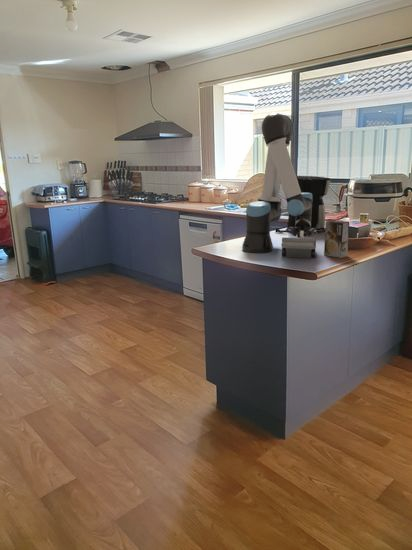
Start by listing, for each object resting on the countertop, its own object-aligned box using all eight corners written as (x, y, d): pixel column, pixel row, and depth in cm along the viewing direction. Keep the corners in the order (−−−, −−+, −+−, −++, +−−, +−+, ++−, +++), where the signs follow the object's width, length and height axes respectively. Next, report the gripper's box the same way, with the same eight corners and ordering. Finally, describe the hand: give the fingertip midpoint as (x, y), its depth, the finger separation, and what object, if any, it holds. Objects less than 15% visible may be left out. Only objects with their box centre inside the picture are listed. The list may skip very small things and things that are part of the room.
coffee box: (347, 256, 200) (350, 221, 196) (341, 258, 196) (343, 223, 192) (330, 253, 206) (332, 219, 202) (323, 255, 202) (325, 221, 198)
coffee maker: (333, 230, 270) (337, 175, 262) (304, 237, 249) (307, 177, 240) (302, 226, 286) (305, 174, 277) (272, 232, 265) (274, 176, 256)
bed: (280, 257, 197) (281, 243, 196) (283, 251, 212) (284, 237, 210) (315, 259, 194) (316, 244, 192) (315, 252, 208) (316, 238, 206)
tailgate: (283, 247, 197) (281, 241, 184) (284, 242, 197) (282, 237, 184) (313, 248, 193) (313, 242, 181) (313, 244, 194) (313, 238, 181)
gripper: (316, 235, 205) (316, 245, 183) (288, 234, 208) (285, 244, 186) (317, 220, 203) (317, 227, 181) (289, 219, 206) (286, 226, 184)
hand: (301, 236), depth 184 cm, fingers closed
